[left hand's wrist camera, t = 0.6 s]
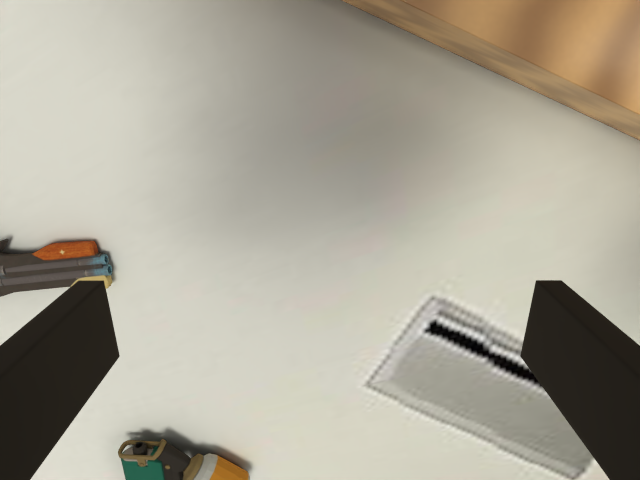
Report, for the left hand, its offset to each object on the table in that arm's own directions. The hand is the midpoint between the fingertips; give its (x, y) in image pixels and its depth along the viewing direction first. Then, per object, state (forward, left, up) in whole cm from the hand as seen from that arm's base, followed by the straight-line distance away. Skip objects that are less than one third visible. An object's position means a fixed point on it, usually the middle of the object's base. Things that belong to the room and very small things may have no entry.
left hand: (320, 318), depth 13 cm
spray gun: (+38, +4, -23) cm, 45 cm away
